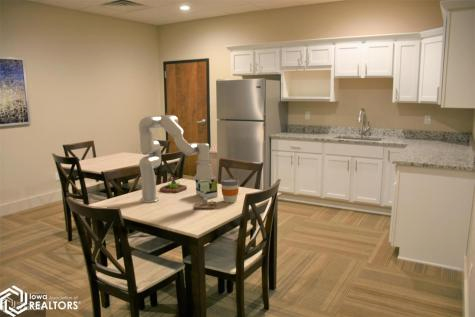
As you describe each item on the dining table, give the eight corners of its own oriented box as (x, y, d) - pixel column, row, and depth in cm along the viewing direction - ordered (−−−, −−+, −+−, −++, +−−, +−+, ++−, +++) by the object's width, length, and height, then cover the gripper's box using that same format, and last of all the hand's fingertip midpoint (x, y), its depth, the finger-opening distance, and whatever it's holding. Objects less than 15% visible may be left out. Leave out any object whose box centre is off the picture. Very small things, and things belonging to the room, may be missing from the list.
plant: (155, 192, 291) (155, 178, 289) (167, 186, 309) (167, 173, 307) (179, 194, 285) (178, 179, 283) (190, 188, 303) (189, 174, 301)
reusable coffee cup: (237, 203, 257) (236, 182, 254) (219, 203, 259) (218, 181, 257) (240, 199, 269) (240, 178, 266) (223, 198, 271) (223, 177, 269)
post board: (195, 203, 258) (195, 196, 257) (215, 203, 259) (215, 195, 258) (193, 209, 244) (193, 201, 243) (215, 209, 245) (215, 201, 244)
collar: (200, 189, 252) (200, 180, 251) (209, 188, 253) (209, 180, 252) (199, 193, 242) (199, 183, 241) (209, 192, 242) (208, 183, 241)
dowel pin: (210, 205, 250) (210, 200, 249) (213, 205, 250) (213, 200, 249) (210, 206, 248) (210, 201, 247) (213, 206, 248) (213, 201, 247)
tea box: (195, 194, 281) (195, 175, 279) (207, 192, 287) (206, 173, 285) (206, 199, 269) (205, 178, 267) (218, 196, 275) (217, 177, 273)
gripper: (190, 163, 243) (191, 191, 245) (217, 163, 243) (218, 190, 246) (191, 161, 250) (192, 188, 253) (217, 161, 251) (218, 187, 253)
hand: (205, 189), depth 249 cm, fingers closed on collar, 6 cm apart
